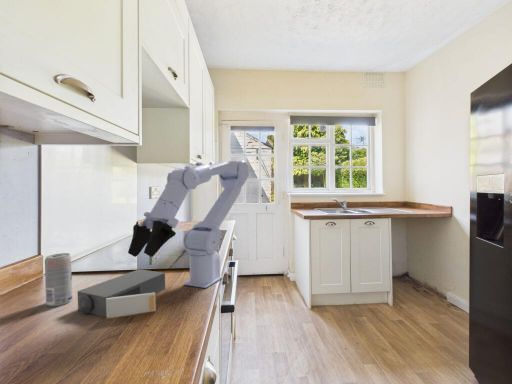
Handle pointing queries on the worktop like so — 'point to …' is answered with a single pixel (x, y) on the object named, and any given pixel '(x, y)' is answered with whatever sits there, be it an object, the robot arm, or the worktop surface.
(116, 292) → the camera housing
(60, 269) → the energy drink
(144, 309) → the door
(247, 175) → the robot arm
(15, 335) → the worktop surface
